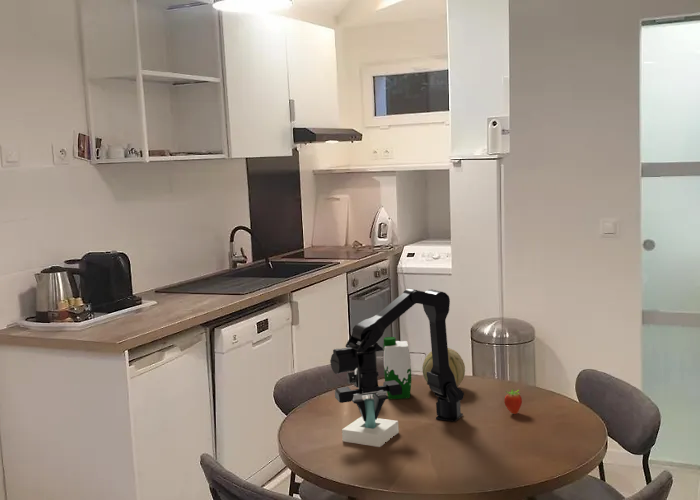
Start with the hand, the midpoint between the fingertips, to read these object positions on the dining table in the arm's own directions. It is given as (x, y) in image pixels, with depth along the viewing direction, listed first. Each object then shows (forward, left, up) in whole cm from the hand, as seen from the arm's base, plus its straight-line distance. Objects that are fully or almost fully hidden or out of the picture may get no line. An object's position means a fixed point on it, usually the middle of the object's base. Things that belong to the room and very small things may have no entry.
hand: (370, 420), depth 214 cm
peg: (0, 0, -3) cm, 3 cm away
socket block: (0, 0, -5) cm, 5 cm away
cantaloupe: (-3, -48, -5) cm, 48 cm away
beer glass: (+17, -29, -5) cm, 34 cm away
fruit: (-32, -33, -5) cm, 46 cm away
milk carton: (+9, -37, -5) cm, 38 cm away
